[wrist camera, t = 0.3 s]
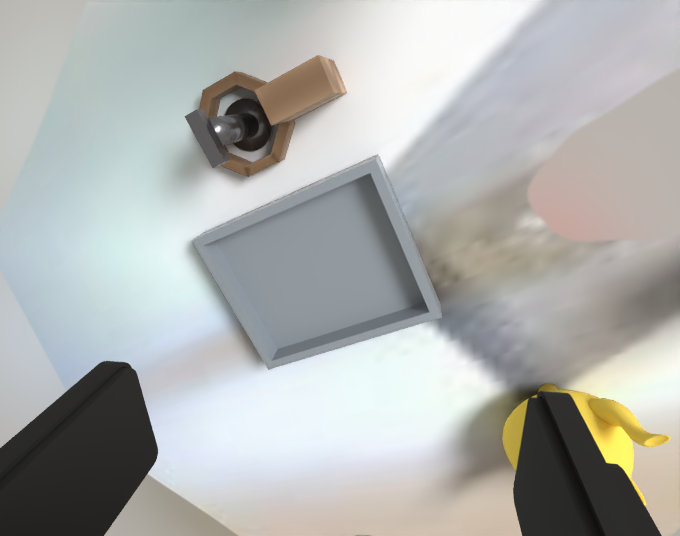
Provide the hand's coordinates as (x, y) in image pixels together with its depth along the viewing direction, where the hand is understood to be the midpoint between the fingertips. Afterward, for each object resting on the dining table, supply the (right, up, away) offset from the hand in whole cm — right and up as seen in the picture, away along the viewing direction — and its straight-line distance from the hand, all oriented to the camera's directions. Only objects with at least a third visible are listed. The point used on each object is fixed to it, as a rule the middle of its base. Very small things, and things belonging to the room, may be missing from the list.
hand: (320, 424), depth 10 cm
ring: (-6, +19, +31) cm, 37 cm away
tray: (-2, +4, +37) cm, 38 cm away
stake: (-9, +18, +32) cm, 38 cm away
